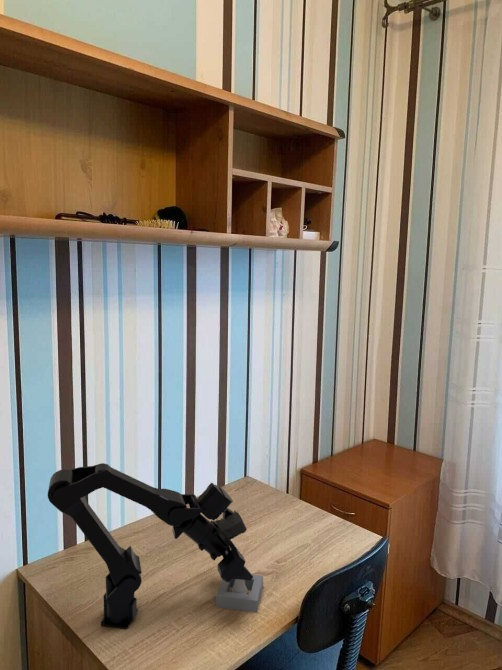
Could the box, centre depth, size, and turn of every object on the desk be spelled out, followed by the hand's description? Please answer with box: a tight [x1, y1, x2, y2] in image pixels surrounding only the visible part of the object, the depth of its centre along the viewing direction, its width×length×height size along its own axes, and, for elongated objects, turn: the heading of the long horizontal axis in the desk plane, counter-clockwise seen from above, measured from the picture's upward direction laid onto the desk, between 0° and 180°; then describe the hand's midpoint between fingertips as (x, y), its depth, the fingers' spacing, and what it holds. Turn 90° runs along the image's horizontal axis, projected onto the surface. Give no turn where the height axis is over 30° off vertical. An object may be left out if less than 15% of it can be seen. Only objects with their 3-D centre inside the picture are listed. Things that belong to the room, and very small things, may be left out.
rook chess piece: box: [230, 579, 249, 594], centre depth 128 cm, size 4×4×8 cm
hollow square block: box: [215, 573, 264, 613], centre depth 128 cm, size 10×10×3 cm
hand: (246, 567), depth 128 cm, fingers open, 9 cm apart
